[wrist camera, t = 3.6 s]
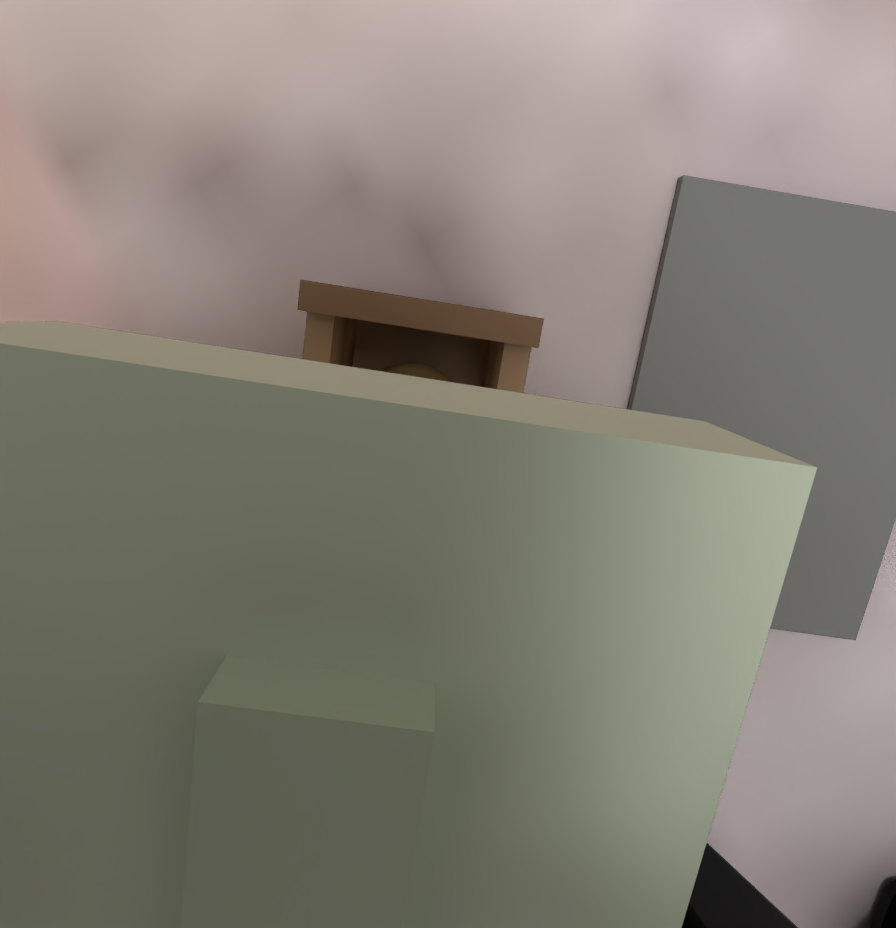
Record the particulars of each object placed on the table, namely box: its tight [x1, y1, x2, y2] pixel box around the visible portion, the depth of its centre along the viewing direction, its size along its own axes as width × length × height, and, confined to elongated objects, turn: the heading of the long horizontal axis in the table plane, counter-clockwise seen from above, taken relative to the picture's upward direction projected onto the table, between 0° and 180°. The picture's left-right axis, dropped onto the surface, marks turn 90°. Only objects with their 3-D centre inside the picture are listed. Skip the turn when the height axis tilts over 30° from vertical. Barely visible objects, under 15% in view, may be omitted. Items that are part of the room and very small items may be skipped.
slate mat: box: [628, 175, 896, 640], centre depth 20 cm, size 9×13×1 cm
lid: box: [0, 321, 817, 928], centre depth 6 cm, size 10×6×3 cm, turn 171°
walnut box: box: [298, 280, 544, 393], centre depth 17 cm, size 12×5×6 cm, turn 171°
